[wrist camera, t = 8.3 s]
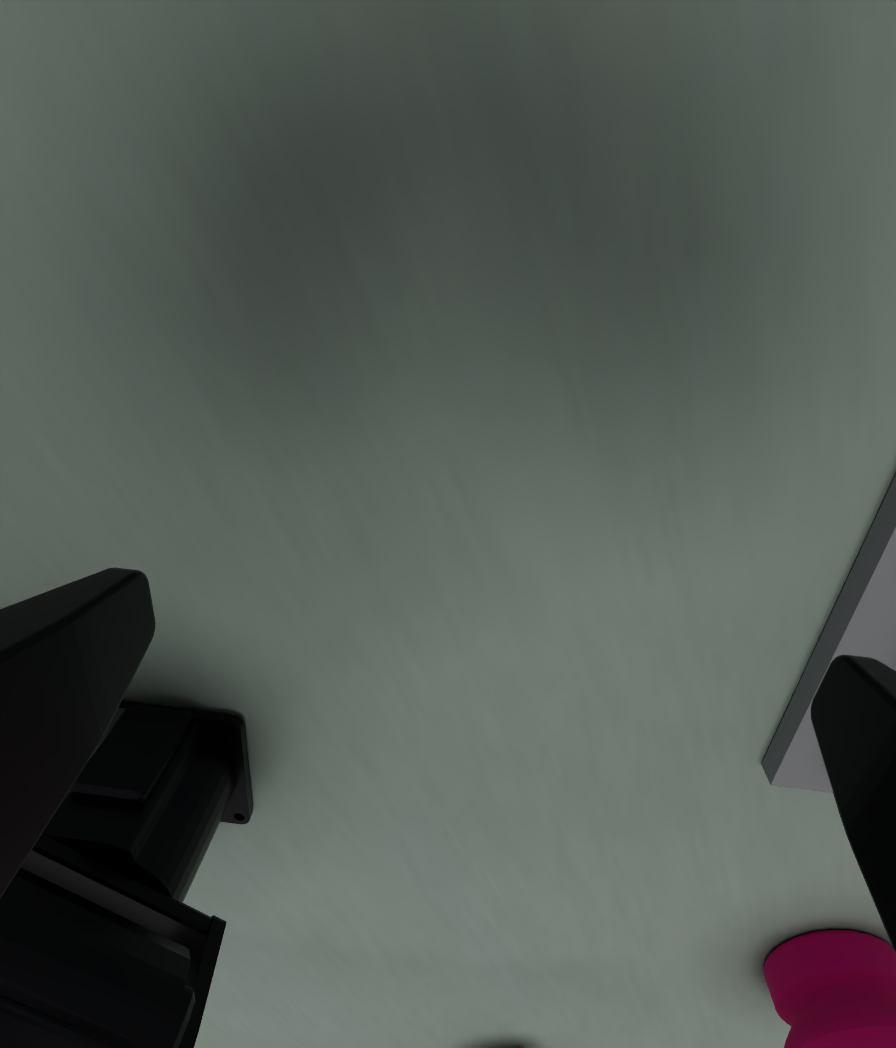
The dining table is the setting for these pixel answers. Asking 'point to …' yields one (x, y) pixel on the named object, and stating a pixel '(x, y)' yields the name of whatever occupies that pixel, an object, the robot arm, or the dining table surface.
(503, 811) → the dining table surface
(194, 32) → the dining table surface
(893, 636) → the display stand
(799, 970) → the pepper mill
